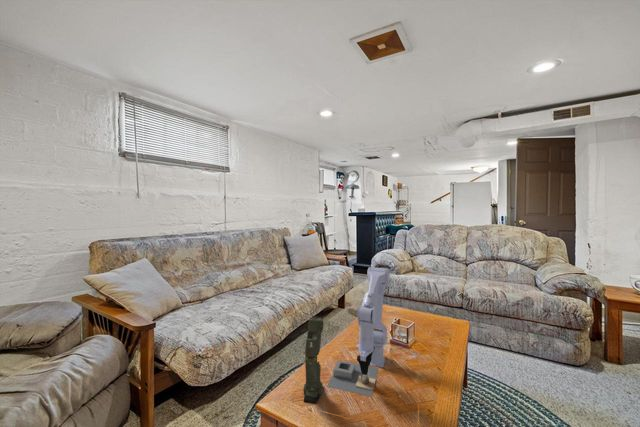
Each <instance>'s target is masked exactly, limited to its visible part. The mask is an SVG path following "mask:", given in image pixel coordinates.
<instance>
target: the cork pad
mask: <svg viewBox="0 0 640 427" xmlns="http://www.w3.org/2000/svg"><path fill="white" fill-rule="evenodd" d="M376 380H377V378H376V379H373V378H369V384H366V385H365V384H362V383H361V376H359V377H358V380H357V383H356V387H358V388H362V389H367V390H371V391H373V392H374V390H373V389H375V384H376Z"/></svg>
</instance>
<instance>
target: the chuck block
mask: <svg viewBox="0 0 640 427" xmlns="http://www.w3.org/2000/svg"><path fill="white" fill-rule="evenodd" d="M355 364H356V362H353V361H347V360H342V359H338V360H337V361H336V363H335V365H334V367H333V369H332V375H333V377H338V378H342V379H347V380H352V378H353V375H354V372H355Z"/></svg>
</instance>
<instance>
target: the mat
mask: <svg viewBox="0 0 640 427" xmlns="http://www.w3.org/2000/svg"><path fill="white" fill-rule="evenodd" d="M355 363H356V362H355ZM378 372H379V367H378V366H372V365H369V378H373V379H376V380H377V375H378ZM359 376H361V368H360V364H359V363H356V364H355V372H354V375H353V378H352V380H347V379H342V378H338V377H333V374H332V376H331V377H330V379H329V382H328V384H327V385H326V387H328V388H332V389H336V390H342V391H345V392H350V393H353V394H358V395H362V396H366V397H370V398H372V397H373V393H374V389H375V388H374V389H373V391H371V390H367V389H362V388H358V387H356V383H357V380H358V377H359Z"/></svg>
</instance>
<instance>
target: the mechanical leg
mask: <svg viewBox="0 0 640 427" xmlns="http://www.w3.org/2000/svg"><path fill="white" fill-rule="evenodd" d="M323 320H324V318H322V317H320V316H316V315H315V316H314V315H312V316H311V317H309V319H308V327H307V337H306V339H305V340H306V341H305V349H304V353H305V354H304V356H305V358H304V365H305V366H304V367H305V383H304V385H303V394H304V397H303V403H308V404H314V405H315V404H317V403H318V400H319V399H320V397H322V396H323V395H322V394H323V382H322V380H321V372H322V371H321V368H322V366H321V364H320V361H318V355H319V353H320V351H321V341H322V333H323V330H324V324H325V323H324V321H323Z"/></svg>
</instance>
